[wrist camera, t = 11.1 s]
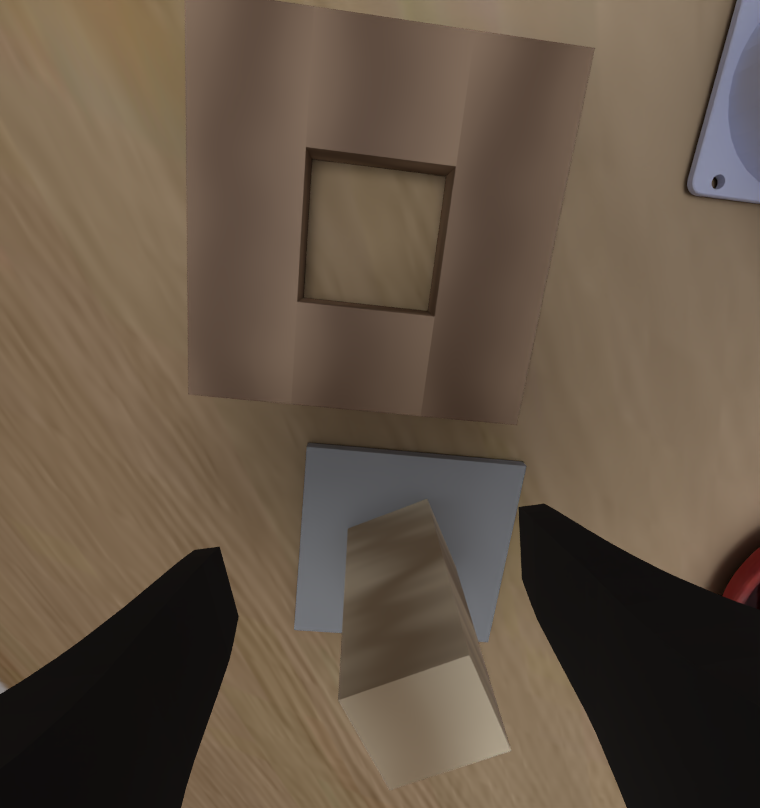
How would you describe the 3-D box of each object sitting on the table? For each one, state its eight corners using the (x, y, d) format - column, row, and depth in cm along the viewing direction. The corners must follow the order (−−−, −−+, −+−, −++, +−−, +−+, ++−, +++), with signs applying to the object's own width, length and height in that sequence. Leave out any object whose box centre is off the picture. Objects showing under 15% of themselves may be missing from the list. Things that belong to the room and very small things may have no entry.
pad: (522, 461, 22) (526, 466, 21) (485, 634, 25) (487, 642, 24) (308, 442, 21) (306, 446, 21) (295, 622, 24) (294, 630, 24)
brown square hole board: (569, 71, 17) (594, 48, 15) (503, 410, 21) (516, 425, 19) (205, 18, 16) (184, -13, 15) (204, 381, 20) (188, 394, 18)
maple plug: (427, 498, 22) (469, 655, 13) (455, 566, 23) (511, 751, 14) (347, 528, 22) (338, 700, 13) (379, 593, 23) (389, 790, 15)
